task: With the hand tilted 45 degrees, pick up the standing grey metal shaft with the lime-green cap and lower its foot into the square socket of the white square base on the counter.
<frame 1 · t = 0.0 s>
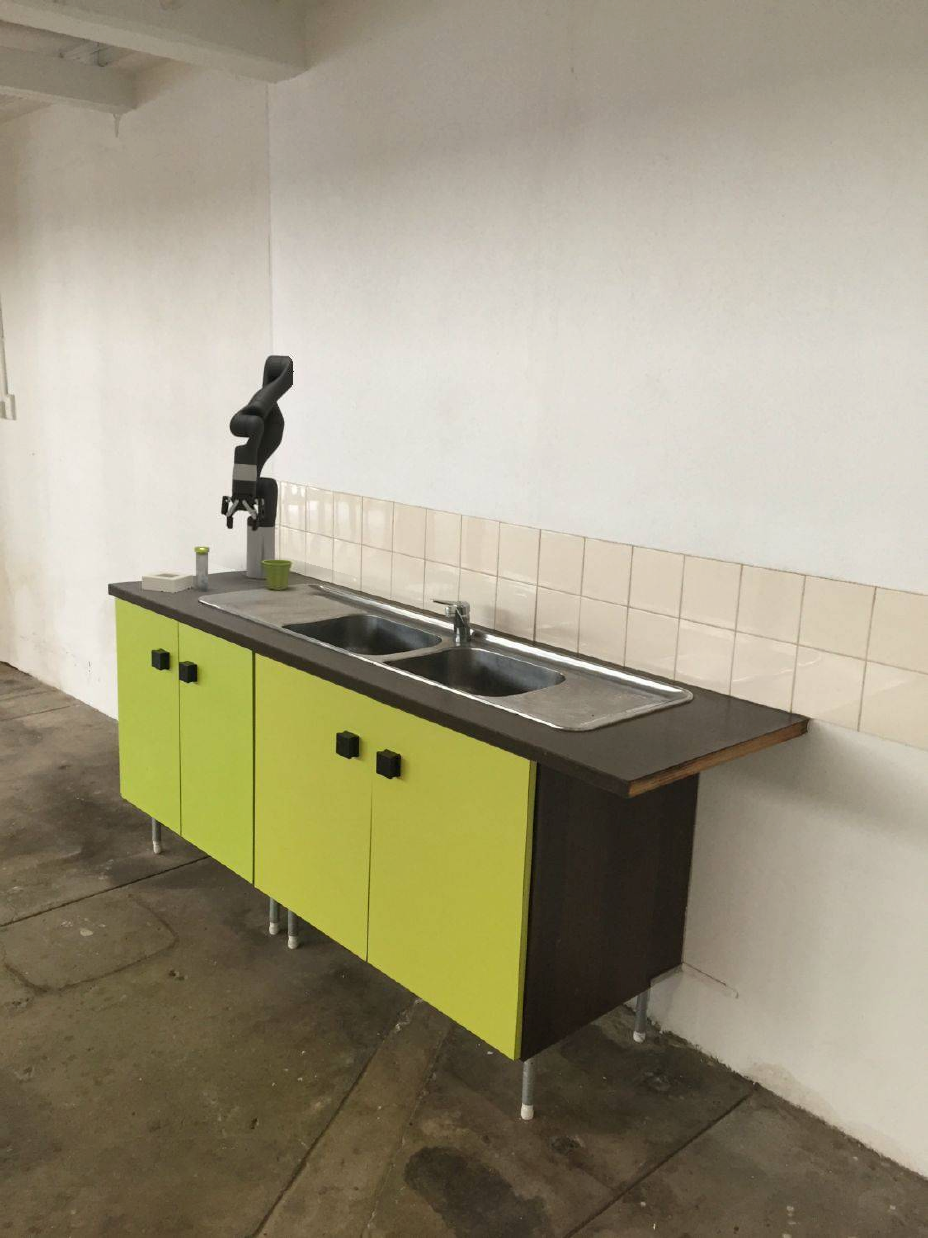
hand: (242, 529, 333), 17 cm above the worktop, tool pointing down, fingers open, 8 cm apart
plant pot: (276, 589, 330), on the worktop
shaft: (201, 590, 320), on the worktop
white square base: (167, 588, 320), on the worktop
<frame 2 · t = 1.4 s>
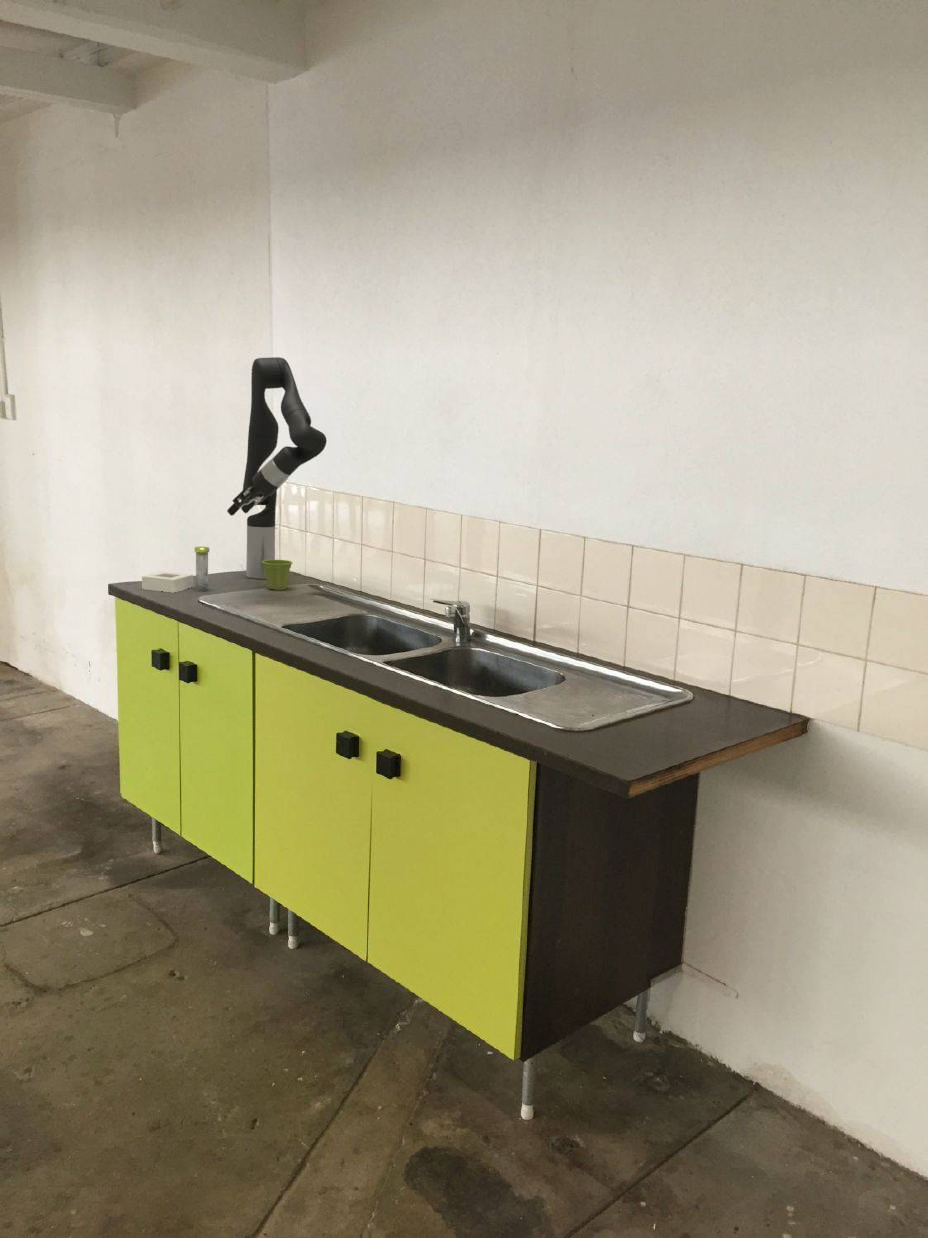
hand: (236, 512, 312), 25 cm above the worktop, tool tilted 45°, fingers open, 8 cm apart
nothing on the worktop moved.
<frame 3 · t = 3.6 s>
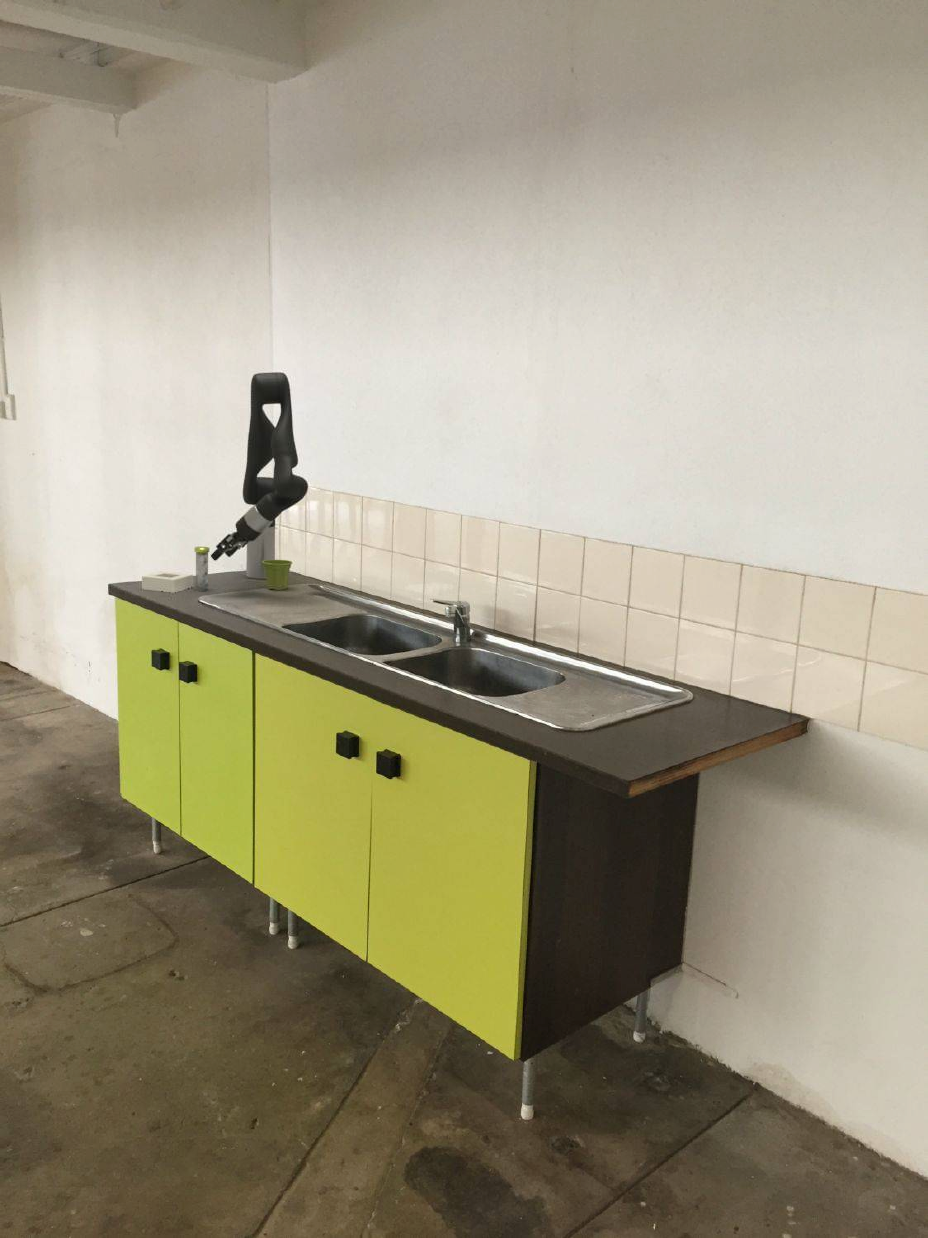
hand: (220, 556, 317), 11 cm above the worktop, tool tilted 45°, fingers open, 8 cm apart
nothing on the worktop moved.
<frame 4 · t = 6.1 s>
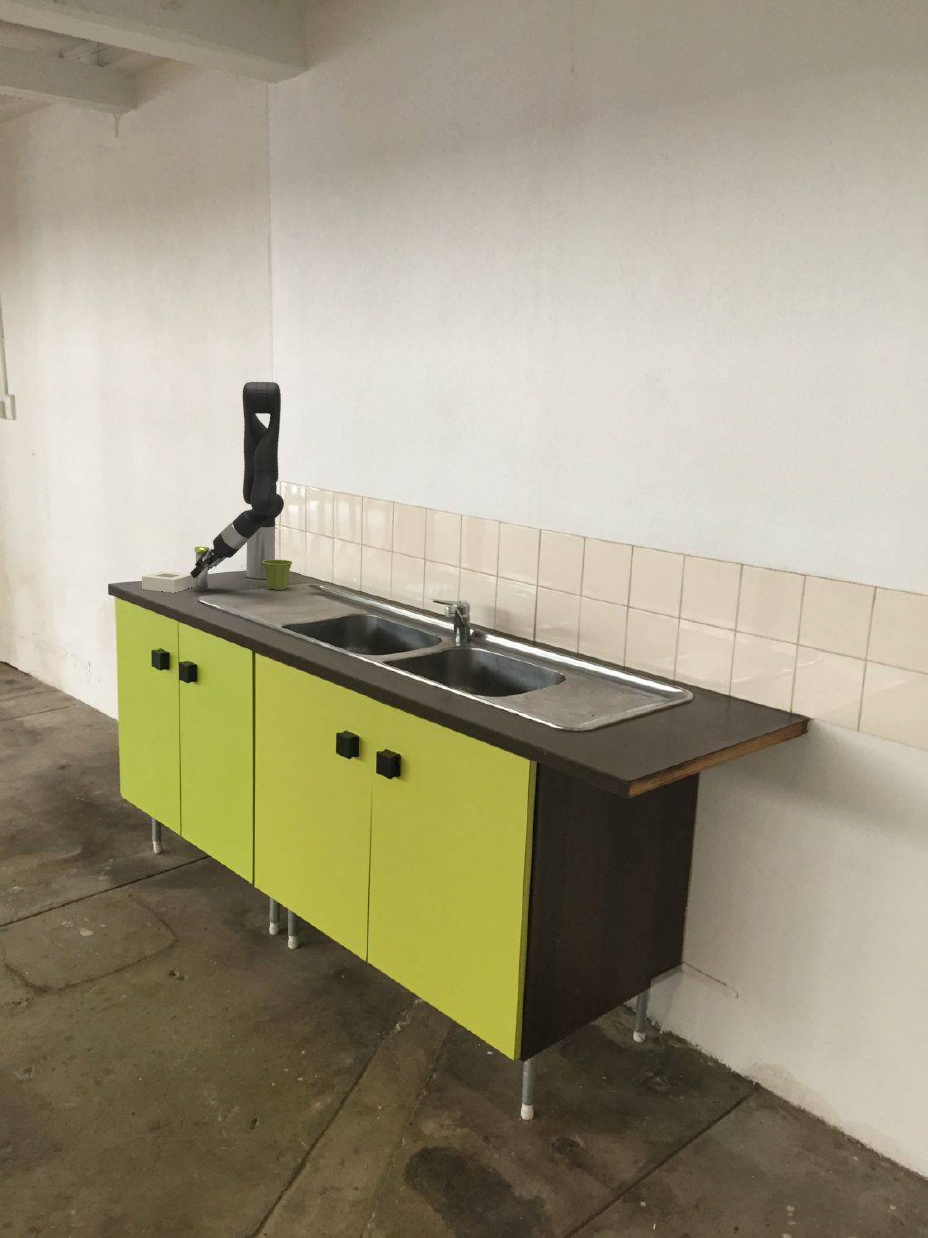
hand: (196, 574, 320), 5 cm above the worktop, tool tilted 45°, fingers closed on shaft, 3 cm apart
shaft: (201, 590, 320), on the worktop, touching gripper
everything else where it was.
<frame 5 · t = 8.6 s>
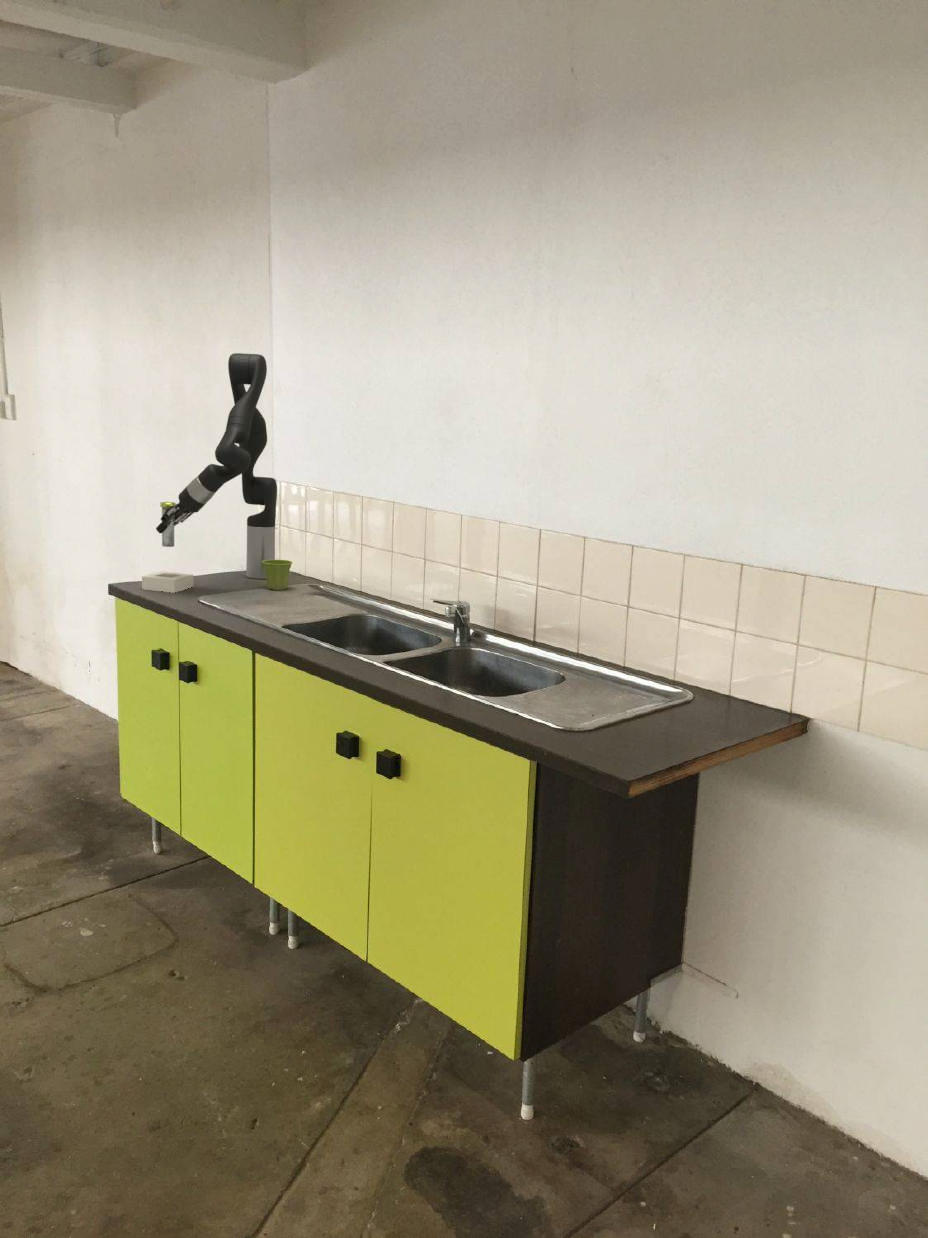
hand: (162, 530, 317), 18 cm above the worktop, tool tilted 45°, fingers closed on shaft, 3 cm apart
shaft: (168, 545, 318), point 13 cm above the worktop, touching gripper
everything else where it was.
when the fingers open (8 cm above the worktop, at t = 11.1 s): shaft drops 3 cm, resting in white square base.
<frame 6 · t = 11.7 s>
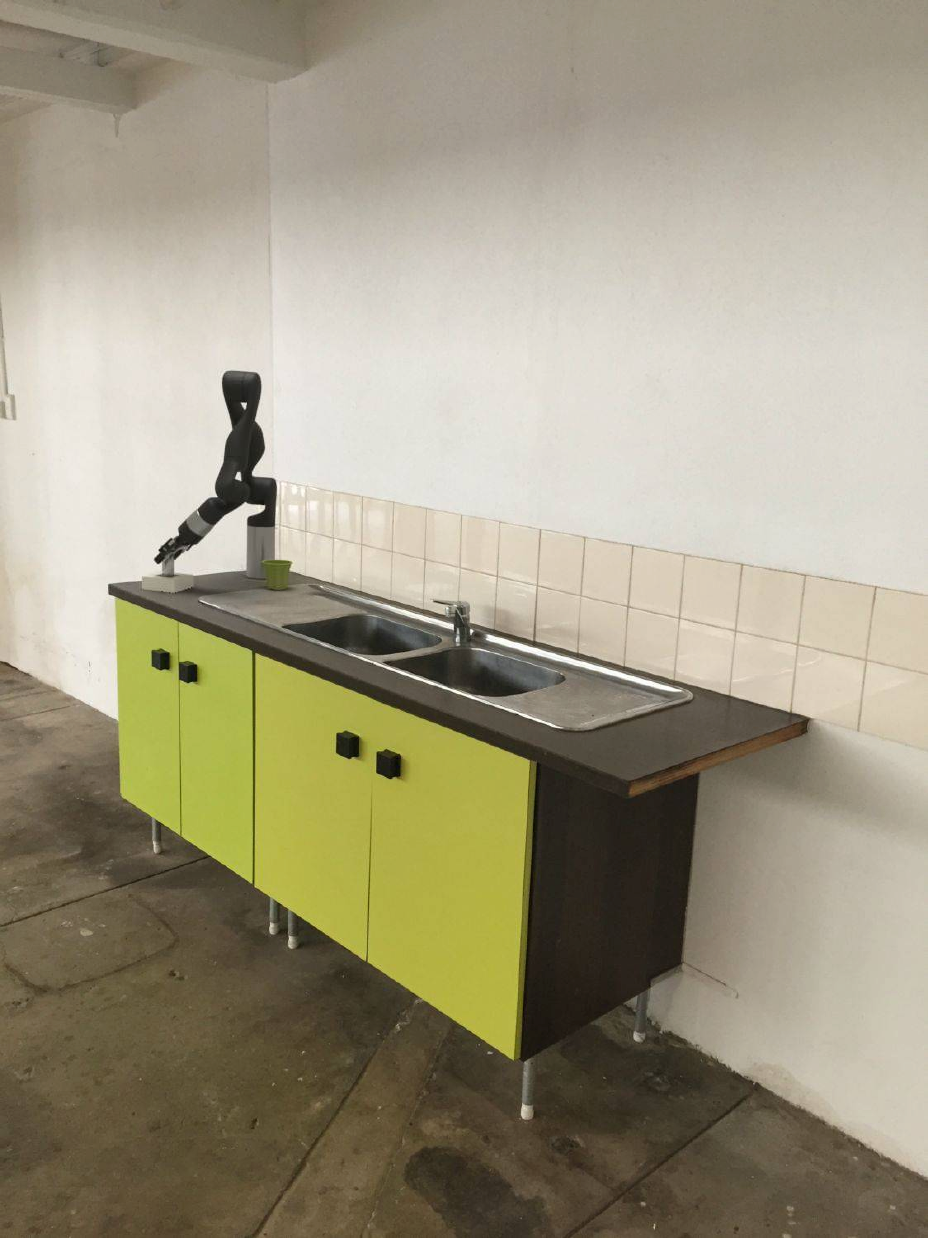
hand: (163, 560, 319), 9 cm above the worktop, tool tilted 45°, fingers open, 8 cm apart
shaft: (168, 588, 320), resting in white square base
everything else where it was.
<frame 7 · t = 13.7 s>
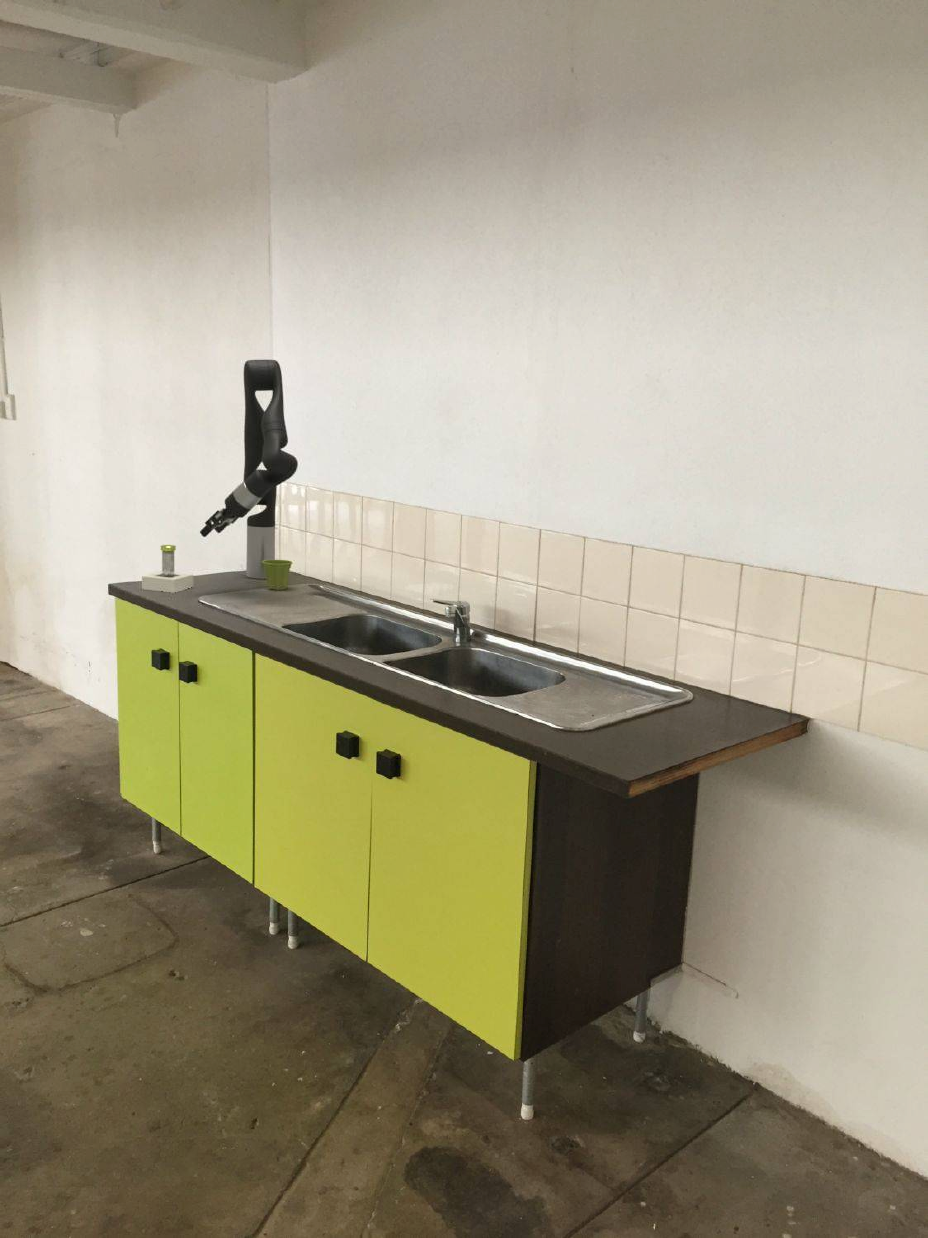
hand: (209, 532, 316), 18 cm above the worktop, tool tilted 45°, fingers open, 8 cm apart
nothing on the worktop moved.
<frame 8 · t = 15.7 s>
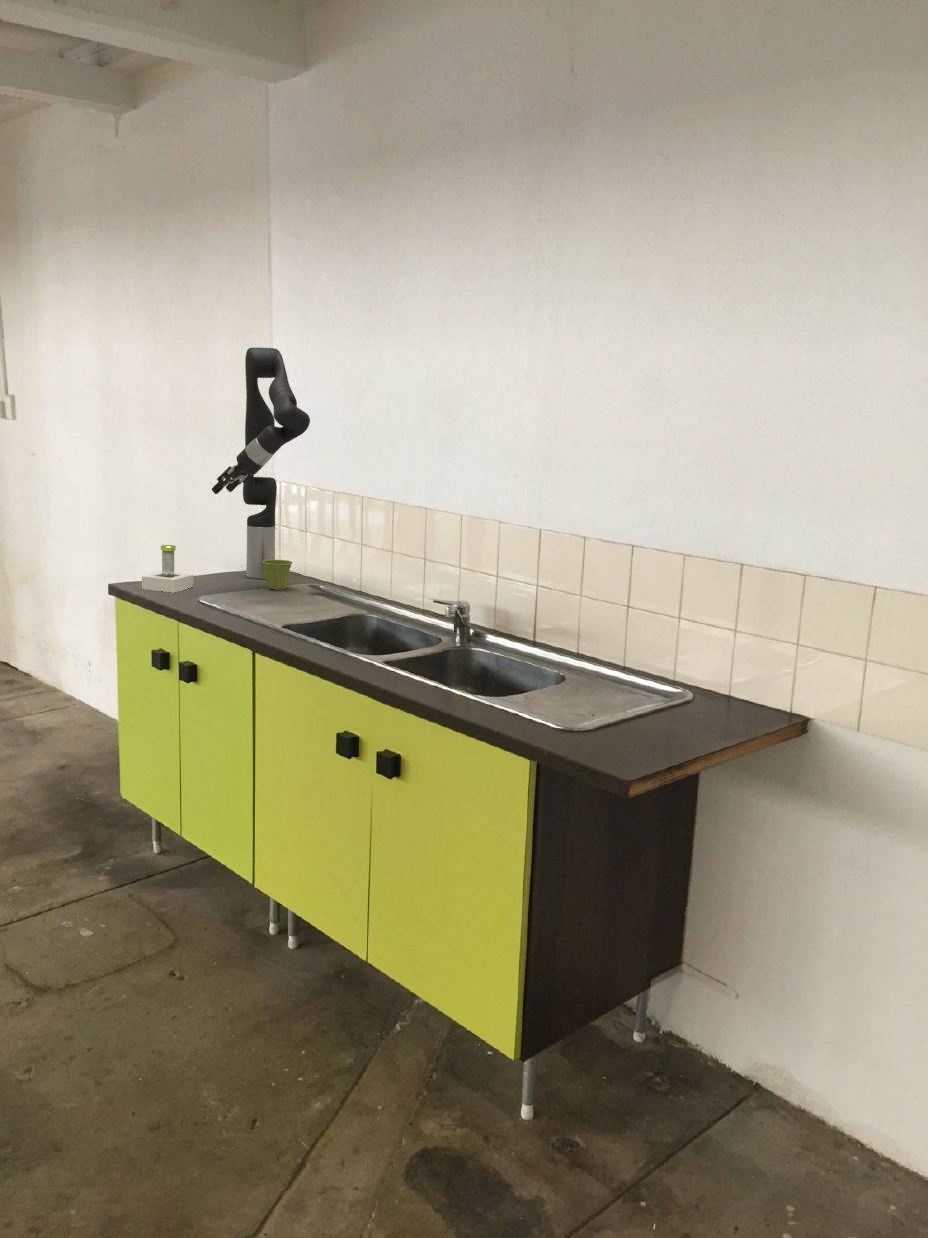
hand: (221, 490, 316), 31 cm above the worktop, tool tilted 45°, fingers open, 8 cm apart
nothing on the worktop moved.
at the end: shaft 0.1 cm off-centre on the white square base, point 0.0 cm above the white square base's base; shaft tilted 0°; the gripper is holding nothing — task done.
